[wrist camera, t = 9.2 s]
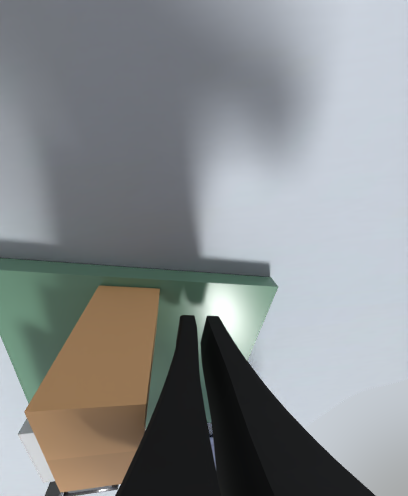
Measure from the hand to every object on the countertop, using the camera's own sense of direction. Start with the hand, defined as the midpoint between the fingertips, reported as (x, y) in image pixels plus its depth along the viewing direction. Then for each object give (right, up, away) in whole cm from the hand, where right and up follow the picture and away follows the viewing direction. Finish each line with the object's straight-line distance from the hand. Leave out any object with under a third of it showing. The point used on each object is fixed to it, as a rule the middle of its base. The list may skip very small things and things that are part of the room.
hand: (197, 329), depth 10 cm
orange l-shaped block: (-4, 0, +1) cm, 4 cm away
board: (-4, -4, +4) cm, 7 cm away
